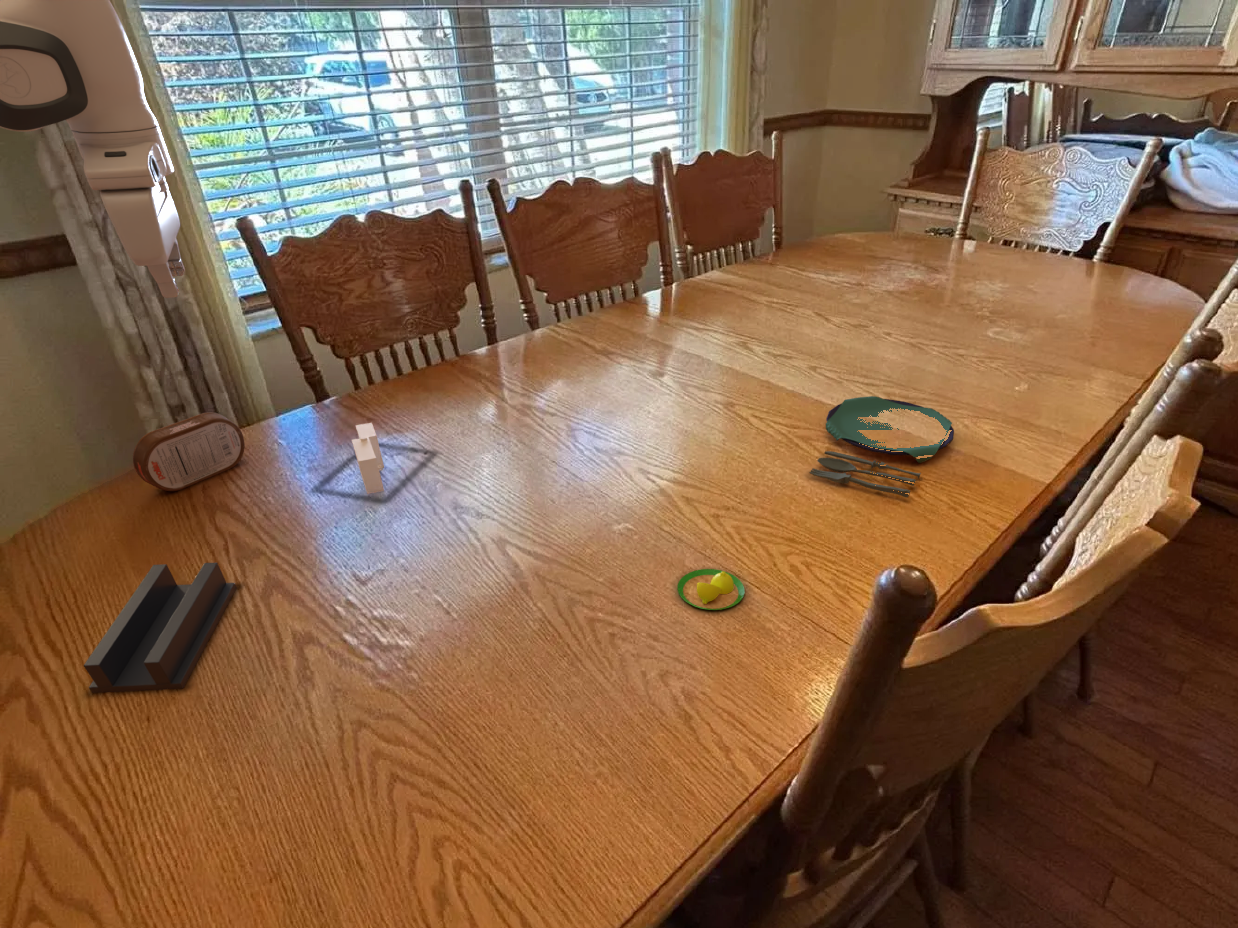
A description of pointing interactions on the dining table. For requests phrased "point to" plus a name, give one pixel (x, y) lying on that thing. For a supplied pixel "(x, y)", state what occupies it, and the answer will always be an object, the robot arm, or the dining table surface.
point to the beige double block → (369, 457)
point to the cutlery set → (846, 427)
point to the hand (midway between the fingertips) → (175, 285)
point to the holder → (160, 632)
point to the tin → (188, 451)
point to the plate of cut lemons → (712, 586)
